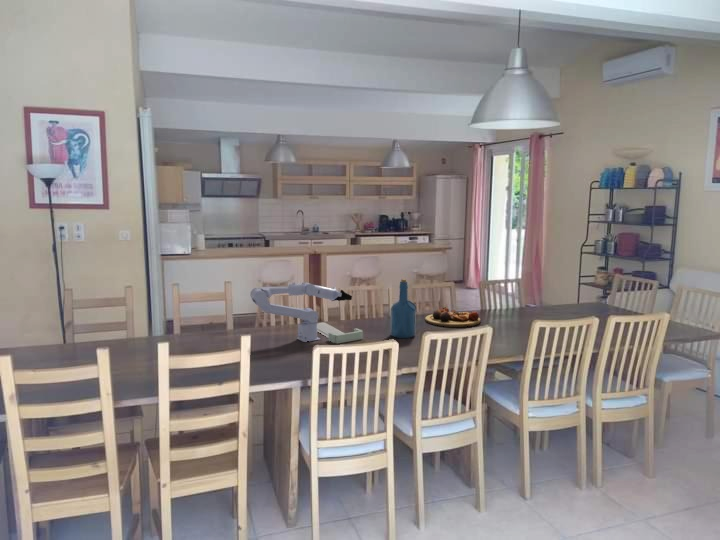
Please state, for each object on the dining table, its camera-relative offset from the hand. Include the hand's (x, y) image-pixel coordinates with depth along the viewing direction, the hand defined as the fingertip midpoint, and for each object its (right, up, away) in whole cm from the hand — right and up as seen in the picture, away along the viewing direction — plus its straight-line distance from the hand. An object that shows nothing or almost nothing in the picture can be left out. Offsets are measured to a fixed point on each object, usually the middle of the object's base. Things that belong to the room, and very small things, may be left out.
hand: (348, 298), depth 279 cm
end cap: (-1, -21, -6) cm, 22 cm away
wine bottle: (+29, -20, +2) cm, 35 cm away
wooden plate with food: (+60, -16, +35) cm, 72 cm away
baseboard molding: (-13, -19, +11) cm, 26 cm away
